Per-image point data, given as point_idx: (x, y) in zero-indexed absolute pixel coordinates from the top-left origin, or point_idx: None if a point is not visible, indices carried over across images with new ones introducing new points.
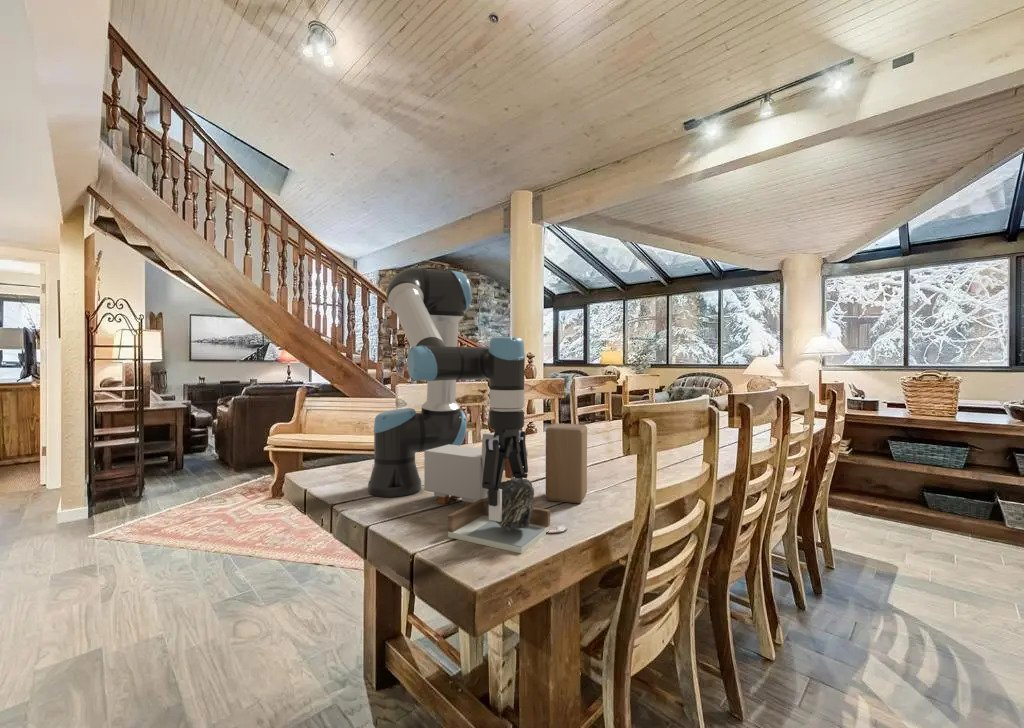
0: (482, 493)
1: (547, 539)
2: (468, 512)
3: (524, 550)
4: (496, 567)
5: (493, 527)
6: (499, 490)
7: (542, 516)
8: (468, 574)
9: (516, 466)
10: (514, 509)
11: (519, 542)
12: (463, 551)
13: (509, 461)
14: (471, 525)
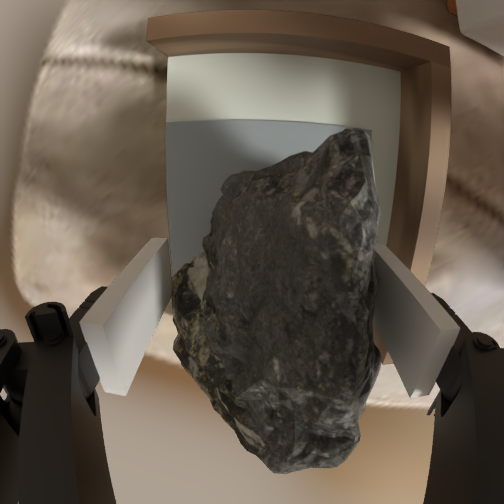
0: (489, 36)
1: None
2: (290, 41)
3: None
4: (86, 294)
5: None
6: (104, 387)
7: None
8: (32, 255)
9: (443, 456)
10: (188, 367)
11: None
12: (103, 164)
13: (472, 464)
14: (271, 75)
